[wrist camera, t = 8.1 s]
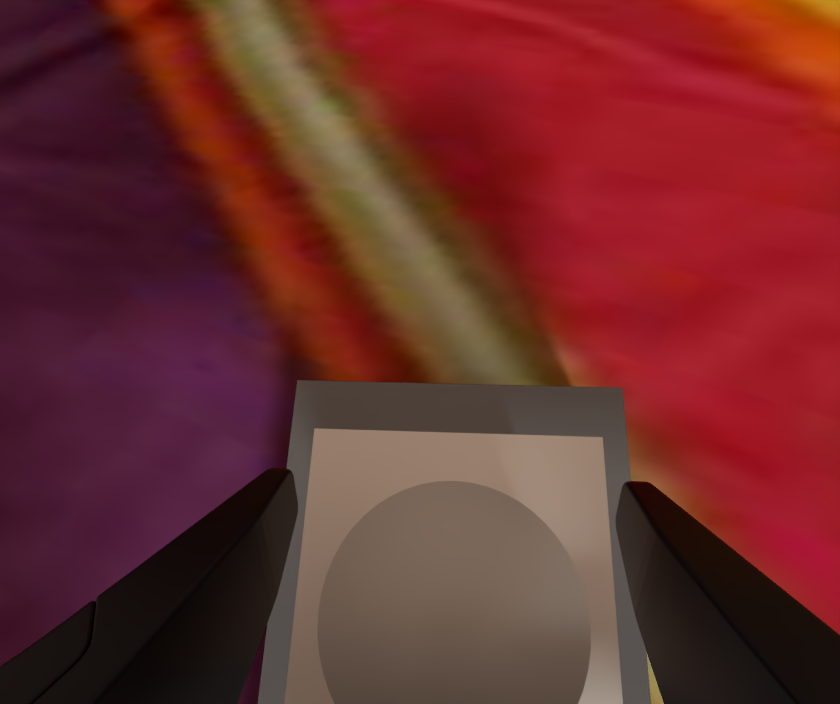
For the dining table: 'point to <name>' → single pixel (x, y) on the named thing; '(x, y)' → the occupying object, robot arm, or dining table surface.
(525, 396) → the grey boxy piece
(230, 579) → the robot arm
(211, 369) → the dining table surface
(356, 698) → the plug
